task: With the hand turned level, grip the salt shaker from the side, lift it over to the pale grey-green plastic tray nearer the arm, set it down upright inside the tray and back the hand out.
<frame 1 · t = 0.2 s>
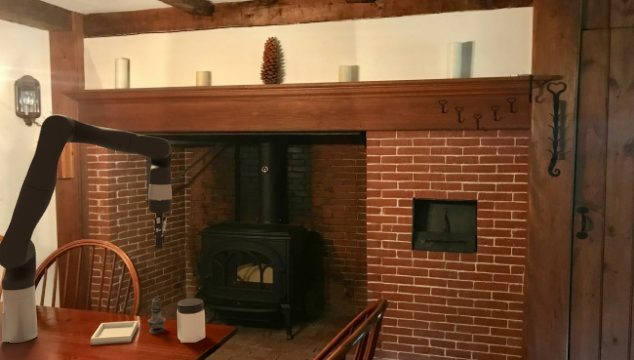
hand: (160, 245, 176), 29 cm above the table, tool pointing down, fingers open, 8 cm apart
jar: (191, 338, 170), on the table
tray: (115, 335, 173), on the table
salt shaker: (157, 331, 177), on the table
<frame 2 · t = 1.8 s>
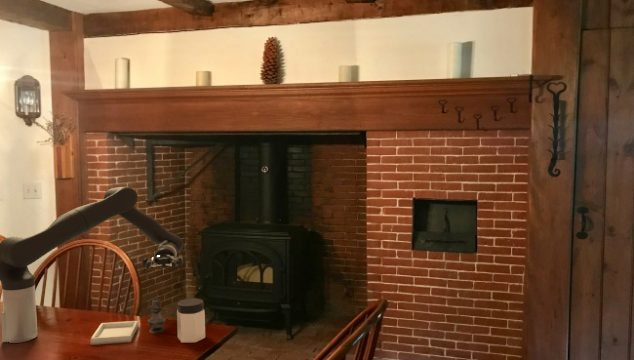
hand: (160, 265, 188), 19 cm above the table, tool horizontal, fingers open, 8 cm apart
nothing on the table moved.
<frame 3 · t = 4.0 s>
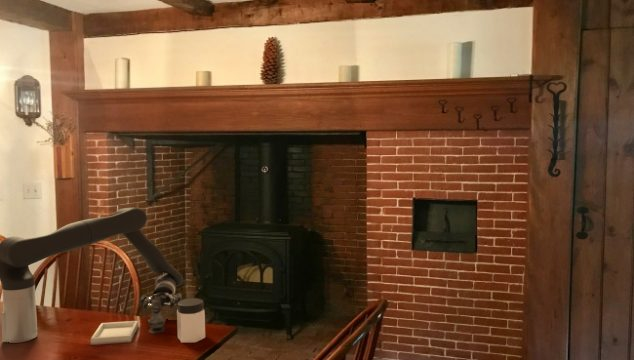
hand: (158, 306, 183), 6 cm above the table, tool horizontal, fingers open, 8 cm apart
nothing on the table moved.
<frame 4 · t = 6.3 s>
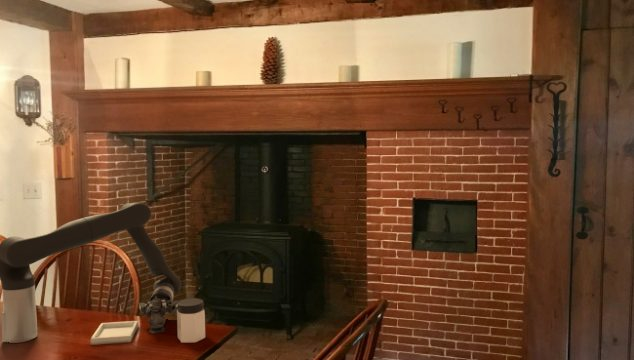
hand: (155, 314, 174), 7 cm above the table, tool horizontal, fingers closed on salt shaker, 3 cm apart
salt shaker: (157, 330, 177), on the table, touching gripper
everything else where it was.
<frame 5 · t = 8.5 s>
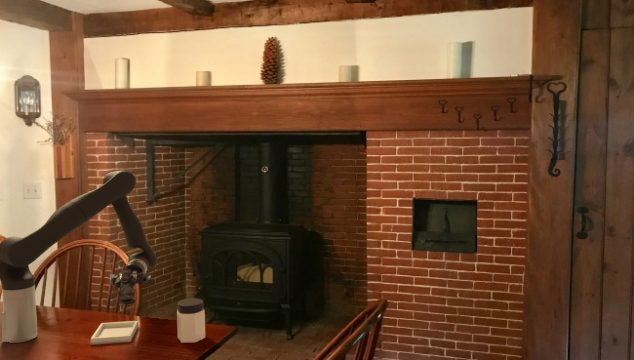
hand: (124, 284, 170), 18 cm above the table, tool horizontal, fingers closed on salt shaker, 3 cm apart
salt shaker: (127, 302, 173), point 11 cm above the table, touching gripper
everything else where it was.
when the fingers open (8 cm above the table, at t = 10.9 s): salt shaker drops 1 cm, resting on tray.
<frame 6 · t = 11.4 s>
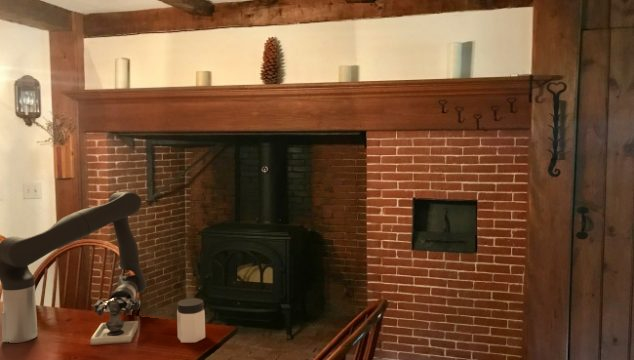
hand: (113, 312, 171), 8 cm above the table, tool horizontal, fingers open, 8 cm apart
salt shaker: (115, 333, 173), resting on tray
everything else where it was.
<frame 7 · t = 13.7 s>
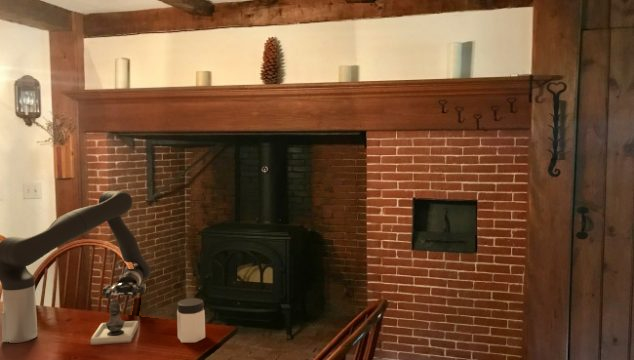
hand: (120, 295, 183), 10 cm above the table, tool horizontal, fingers open, 8 cm apart
nothing on the table moved.
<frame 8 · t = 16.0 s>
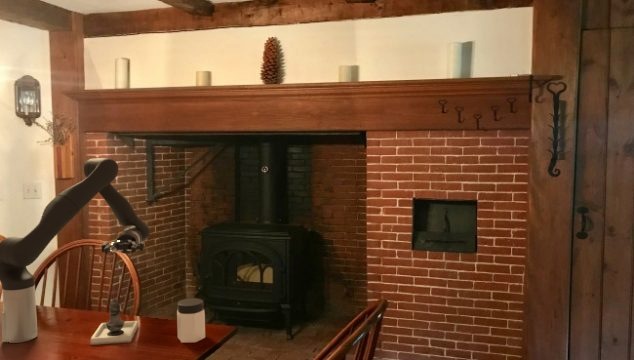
hand: (119, 250, 182), 26 cm above the table, tool horizontal, fingers open, 8 cm apart
nothing on the table moved.
at the end: salt shaker inside the target area on the tray (0.1 cm from its centre), point 0.4 cm above the tray's base; salt shaker tilted 0°; the gripper is holding nothing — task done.
